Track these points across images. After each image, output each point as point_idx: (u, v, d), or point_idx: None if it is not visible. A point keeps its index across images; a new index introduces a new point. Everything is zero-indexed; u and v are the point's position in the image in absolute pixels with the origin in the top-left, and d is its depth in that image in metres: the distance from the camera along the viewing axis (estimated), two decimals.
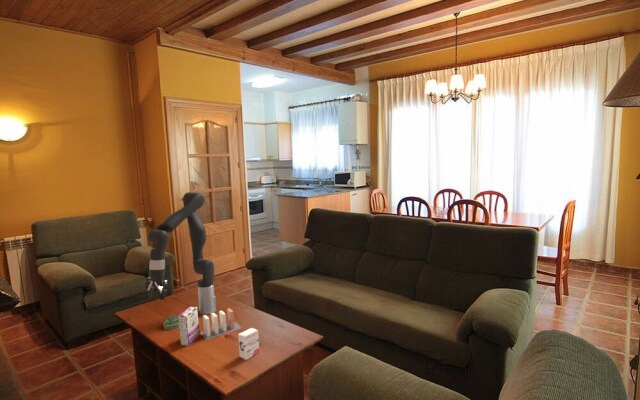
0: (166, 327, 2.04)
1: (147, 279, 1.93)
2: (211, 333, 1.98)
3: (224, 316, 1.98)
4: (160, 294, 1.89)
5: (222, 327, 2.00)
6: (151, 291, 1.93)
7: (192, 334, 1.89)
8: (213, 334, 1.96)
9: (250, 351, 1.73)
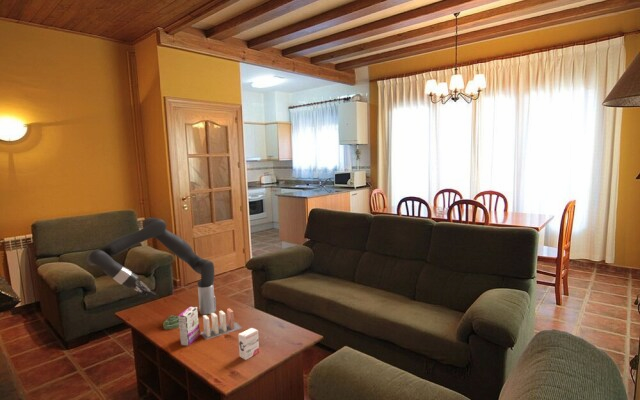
0: (166, 327, 2.04)
1: None
2: (211, 333, 1.98)
3: (224, 316, 1.98)
4: (148, 295, 1.85)
5: (222, 327, 2.00)
6: None
7: (192, 334, 1.89)
8: (213, 334, 1.96)
9: (250, 351, 1.73)
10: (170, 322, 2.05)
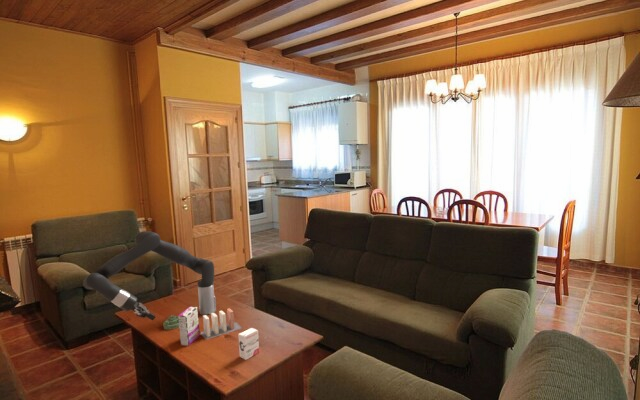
0: (166, 327, 2.04)
1: None
2: (211, 333, 1.98)
3: (224, 316, 1.98)
4: None
5: (222, 327, 2.00)
6: None
7: (192, 334, 1.89)
8: (213, 334, 1.96)
9: (250, 351, 1.73)
10: (170, 322, 2.05)
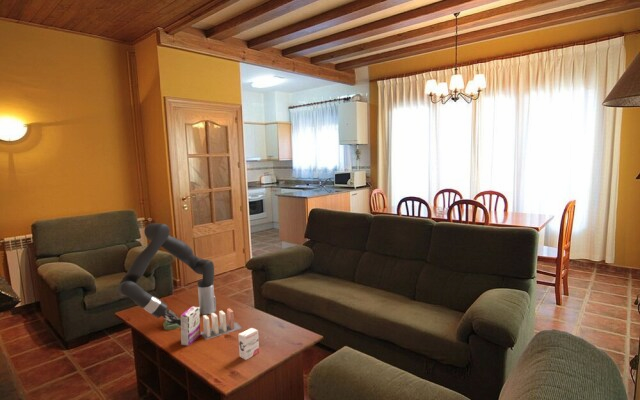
0: (166, 328, 2.04)
1: None
2: (211, 333, 1.98)
3: (224, 316, 1.98)
4: None
5: (222, 327, 2.00)
6: None
7: (193, 334, 1.89)
8: (213, 334, 1.96)
9: (250, 351, 1.73)
10: None
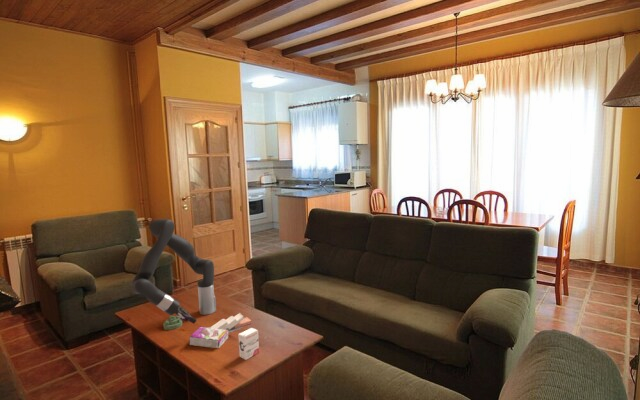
0: (166, 328, 2.04)
1: None
2: None
3: (242, 319, 2.04)
4: (189, 320, 1.90)
5: None
6: None
7: None
8: None
9: (250, 351, 1.73)
10: (170, 322, 2.05)
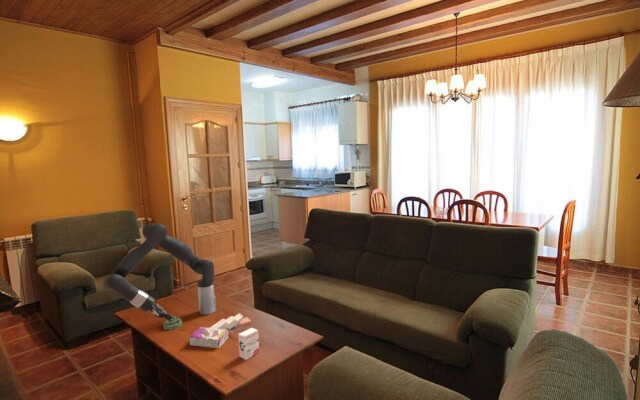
0: (166, 328, 2.03)
1: None
2: None
3: (242, 319, 2.04)
4: (164, 317, 1.84)
5: None
6: None
7: None
8: None
9: (250, 351, 1.73)
10: (170, 323, 2.05)
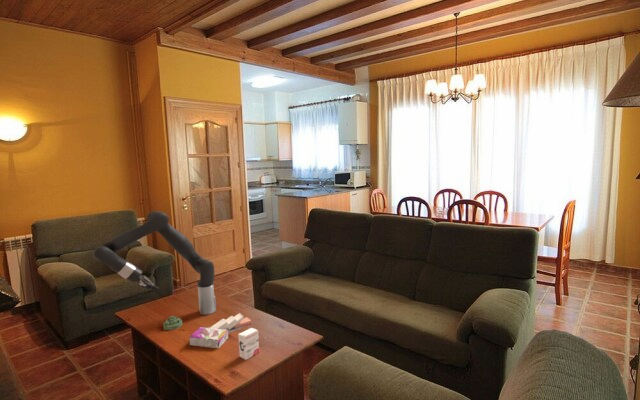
0: (166, 328, 2.03)
1: None
2: None
3: (242, 319, 2.04)
4: None
5: None
6: None
7: None
8: None
9: (250, 351, 1.73)
10: (170, 323, 2.05)
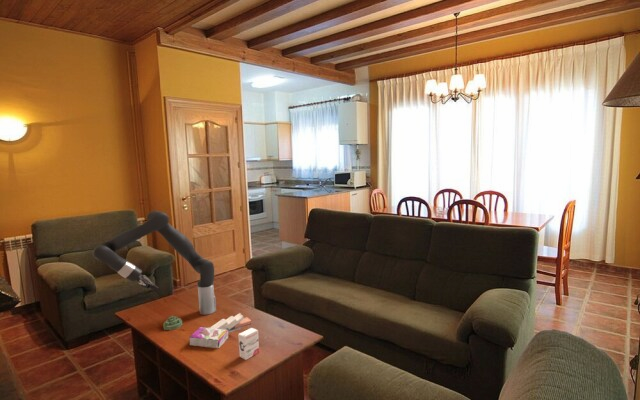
0: (166, 328, 2.03)
1: None
2: None
3: (242, 319, 2.04)
4: (151, 288, 1.93)
5: None
6: None
7: None
8: None
9: (250, 351, 1.73)
10: (170, 323, 2.04)
